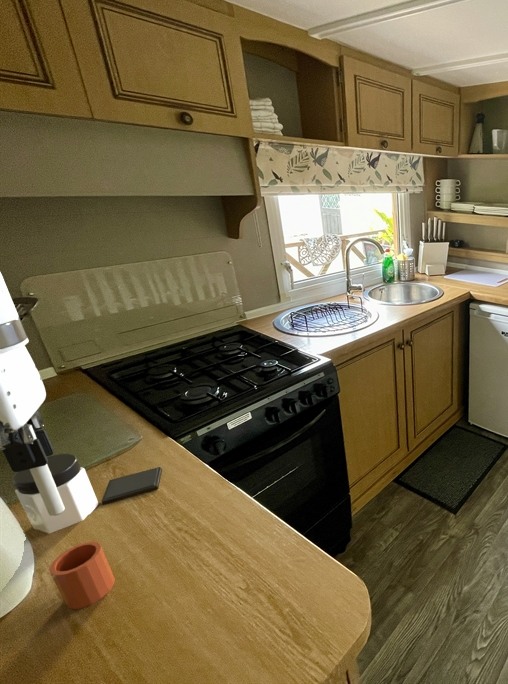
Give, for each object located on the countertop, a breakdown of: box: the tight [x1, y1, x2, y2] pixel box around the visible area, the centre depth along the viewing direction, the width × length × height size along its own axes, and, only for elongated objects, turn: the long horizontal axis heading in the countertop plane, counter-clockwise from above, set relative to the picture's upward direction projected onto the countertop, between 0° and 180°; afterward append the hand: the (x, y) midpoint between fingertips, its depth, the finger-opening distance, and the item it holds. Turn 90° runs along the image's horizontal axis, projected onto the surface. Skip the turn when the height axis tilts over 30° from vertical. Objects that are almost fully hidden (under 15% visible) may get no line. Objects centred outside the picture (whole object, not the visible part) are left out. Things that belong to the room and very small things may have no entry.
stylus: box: [13, 424, 65, 516], centre depth 51 cm, size 2×2×15 cm
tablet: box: [101, 466, 163, 506], centre depth 81 cm, size 9×7×1 cm
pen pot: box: [48, 541, 116, 610], centre depth 58 cm, size 6×6×8 cm
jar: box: [12, 453, 100, 535], centre depth 71 cm, size 9×8×12 cm
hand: (34, 461), depth 51 cm, fingers closed on stylus, 1 cm apart
